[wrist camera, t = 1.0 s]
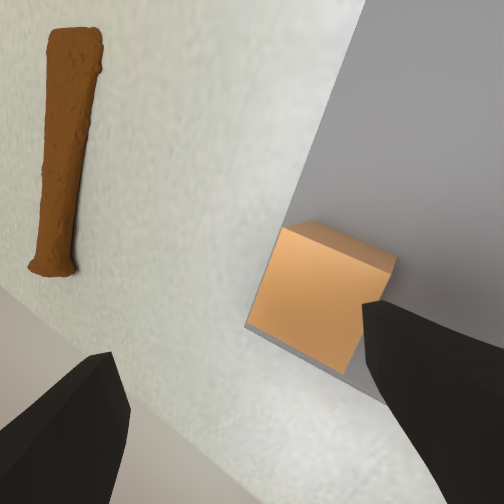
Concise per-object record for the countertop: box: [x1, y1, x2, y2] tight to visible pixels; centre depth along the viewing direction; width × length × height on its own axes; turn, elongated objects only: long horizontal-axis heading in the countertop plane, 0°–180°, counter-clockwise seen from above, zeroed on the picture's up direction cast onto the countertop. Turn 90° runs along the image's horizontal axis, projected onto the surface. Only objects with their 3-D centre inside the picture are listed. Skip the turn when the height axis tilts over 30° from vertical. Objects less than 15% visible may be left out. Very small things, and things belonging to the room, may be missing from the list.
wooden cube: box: [247, 220, 397, 374], centre depth 19 cm, size 5×5×5 cm
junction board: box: [244, 0, 504, 405], centre depth 18 cm, size 14×21×4 cm, turn 159°
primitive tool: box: [27, 27, 104, 277], centre depth 29 cm, size 19×6×4 cm, turn 173°
